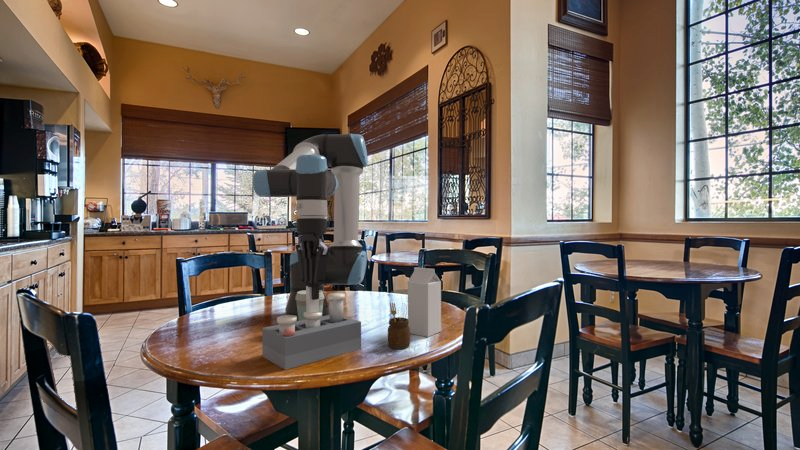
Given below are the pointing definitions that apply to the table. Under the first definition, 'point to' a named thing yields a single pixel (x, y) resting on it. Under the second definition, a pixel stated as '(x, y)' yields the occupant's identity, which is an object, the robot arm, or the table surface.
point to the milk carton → (424, 302)
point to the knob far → (336, 306)
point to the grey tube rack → (310, 342)
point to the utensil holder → (398, 331)
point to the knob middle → (312, 319)
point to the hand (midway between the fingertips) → (312, 311)
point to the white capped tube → (286, 322)
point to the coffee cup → (302, 303)
